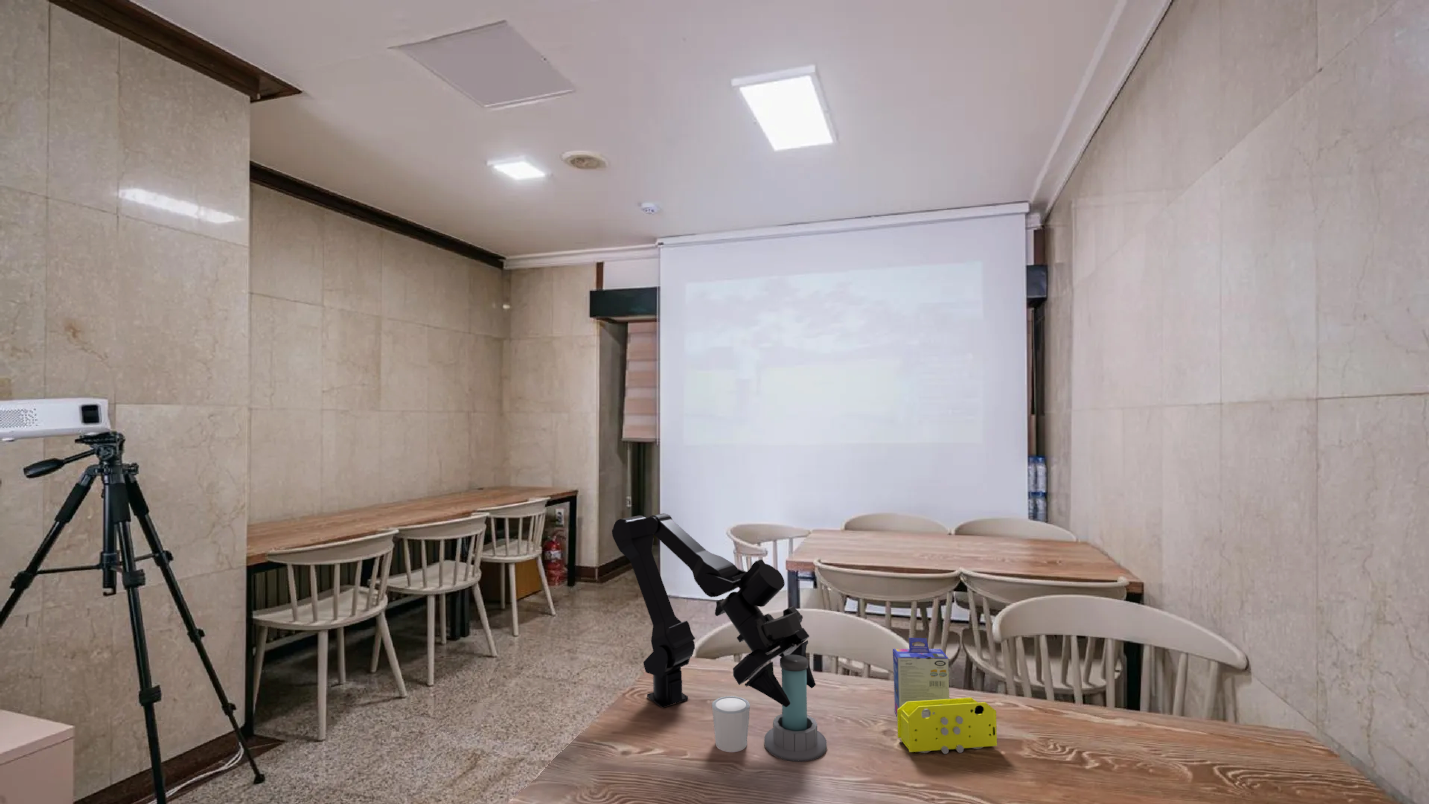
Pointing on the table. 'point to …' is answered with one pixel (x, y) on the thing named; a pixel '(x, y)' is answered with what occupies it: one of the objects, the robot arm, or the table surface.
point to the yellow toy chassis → (946, 725)
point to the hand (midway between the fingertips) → (801, 695)
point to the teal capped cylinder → (794, 692)
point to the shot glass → (731, 723)
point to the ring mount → (795, 741)
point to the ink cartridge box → (920, 674)
